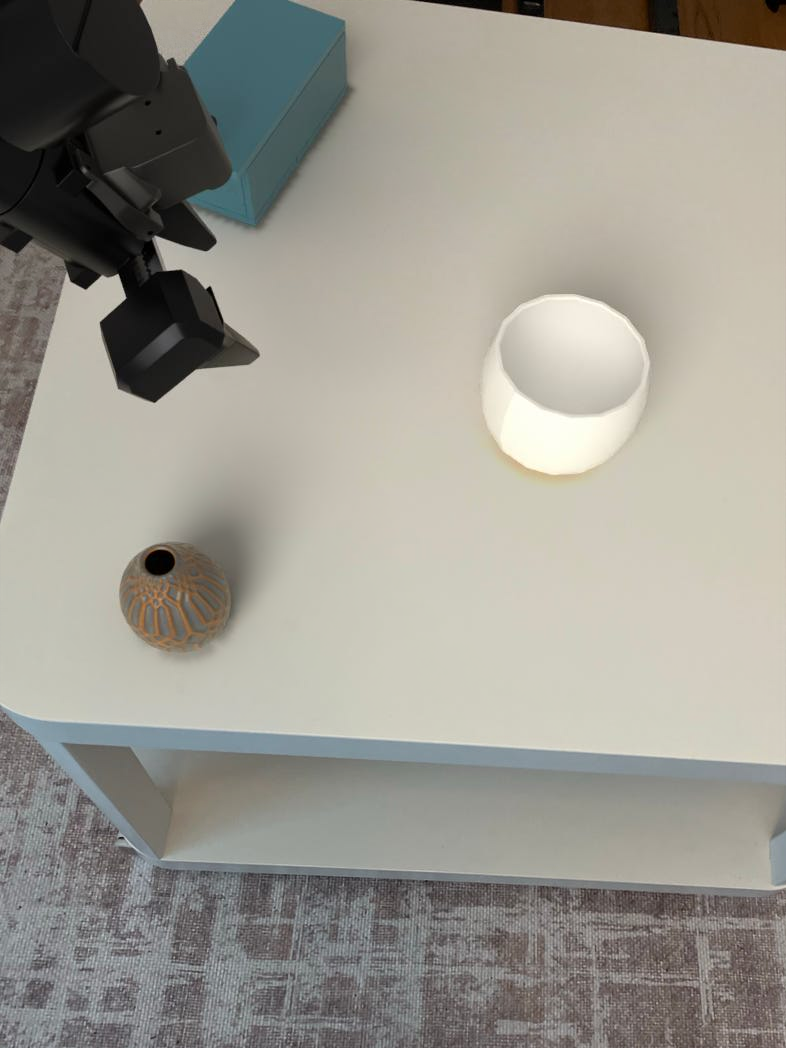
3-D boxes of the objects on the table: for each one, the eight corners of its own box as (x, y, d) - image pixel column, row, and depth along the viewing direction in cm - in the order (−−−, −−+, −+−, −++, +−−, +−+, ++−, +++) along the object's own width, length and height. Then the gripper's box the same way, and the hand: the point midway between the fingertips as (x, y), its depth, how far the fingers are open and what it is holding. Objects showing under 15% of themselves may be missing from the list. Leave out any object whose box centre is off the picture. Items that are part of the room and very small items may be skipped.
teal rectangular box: (255, 227, 78) (247, 169, 73) (155, 189, 78) (139, 130, 73) (347, 90, 86) (345, 30, 80) (255, 57, 86) (248, -6, 81)
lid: (238, 181, 72) (231, 136, 68) (130, 141, 72) (117, 94, 69) (345, 29, 80) (344, -19, 77) (248, -6, 81) (242, -55, 77)
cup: (655, 448, 73) (693, 368, 64) (545, 530, 69) (570, 457, 60) (551, 349, 76) (575, 261, 67) (440, 423, 72) (449, 338, 63)
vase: (255, 601, 64) (239, 541, 56) (203, 682, 62) (178, 631, 54) (170, 560, 65) (141, 495, 57) (114, 639, 62) (76, 582, 54)
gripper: (174, 196, 38) (381, 343, 52) (67, -95, 43) (280, 109, 57) (8, 350, 42) (241, 448, 56) (-71, 67, 47) (159, 220, 61)
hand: (232, 300), depth 57 cm, fingers open, 9 cm apart
